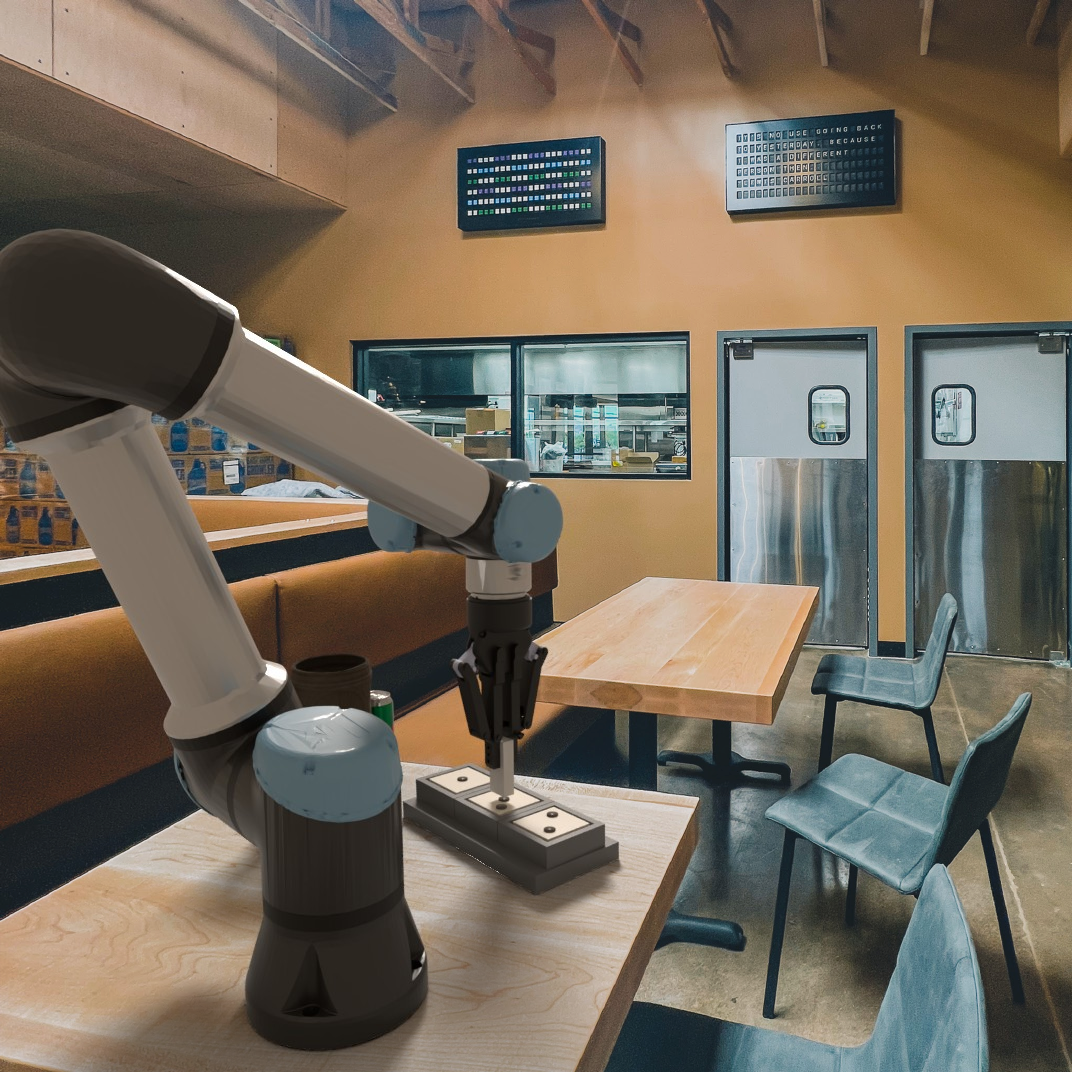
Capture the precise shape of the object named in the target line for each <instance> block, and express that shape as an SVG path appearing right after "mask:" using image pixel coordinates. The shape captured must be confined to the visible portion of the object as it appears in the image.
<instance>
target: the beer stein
mask: <svg viewBox="0 0 1072 1072" xmlns="http://www.w3.org/2000/svg"><path fill="white" fill-rule="evenodd" d="M289 678H290V680H291V682H292V684H293V686H294V688H295V691H296V693H297V695H298V697H299V699H300V701H301V704H302V706H303V708H306V707H315V706H337V707H340V709H343V710H345V709H349V708H353V709H358V710H362V711H365V712H368V713H370V714H372V712H371V694H370V692H371V691H372V679H373V669H372V668H371V663H370V660H369V657H366V656H364V655H361V654H357V653H356V654H355V653H326V654H319V655H318V654H317V655H313V656H309V657H306V658H303V659H300V660H298V661H295V662H294V663H293V664H292V665H291V669H290V674H289Z"/></svg>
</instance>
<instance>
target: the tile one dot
mask: <svg viewBox="0 0 1072 1072" xmlns="http://www.w3.org/2000/svg"><path fill="white" fill-rule="evenodd" d="M429 781H430V782H431V783H433V784H435V785H437V786H439V787H441V788H443V789H445V790H447V791H449V792H451V793H453V794H455V795H457V794H460V793H463V792H466V791H469V790H472V789H475V788H479V787H482V786H485V785H488V784H490V777H488V776H486V775H484V774H482V773H480V772H478V771H475V770H473V769H471V768H469V767H467V768H464V769H461V770H457V771H454V772H451V773H447V774H444V775H440V776H437V777H434V778H430V779H429Z"/></svg>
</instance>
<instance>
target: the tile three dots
mask: <svg viewBox="0 0 1072 1072" xmlns="http://www.w3.org/2000/svg"><path fill="white" fill-rule="evenodd" d="M468 802H470V803H472V804H474V805H476V806H478V807H480V808H482V809H484V810H486V811H488V812H490V813H492V814H494V815H496V816H498V817H500V816H503V815H505V814H508V813H511V812H514V811H517V810H520V809H523V808H525V807H528V806H531V805H534V804H537V803H540V800H538V799H536V798H534V797H532V796H529V795H527V794H525V793H523V792H521V791H519V790H516V789H514V794H513V795H510V796H507V797H502V796H500V795H498V794H496V793H494V792H492V791H491V792H488V793H485V794H482V795H479V796H476V797H473V798H470V799H468Z"/></svg>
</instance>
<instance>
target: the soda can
mask: <svg viewBox="0 0 1072 1072" xmlns="http://www.w3.org/2000/svg"><path fill="white" fill-rule="evenodd" d="M370 694H371V712H372V715H374V716H376V717H378V718H380V719H381V720H383V721H384V722H385V723H386V724H387V725H388V726H389V727H390V728H391V729H392V731H393V732H394V733H395V721H394V720H395V719H394V718H395V715H394V712H395V711H394V700H393V699H392V697H391V693H390V692H389V691H385V690H371V692H370Z"/></svg>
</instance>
